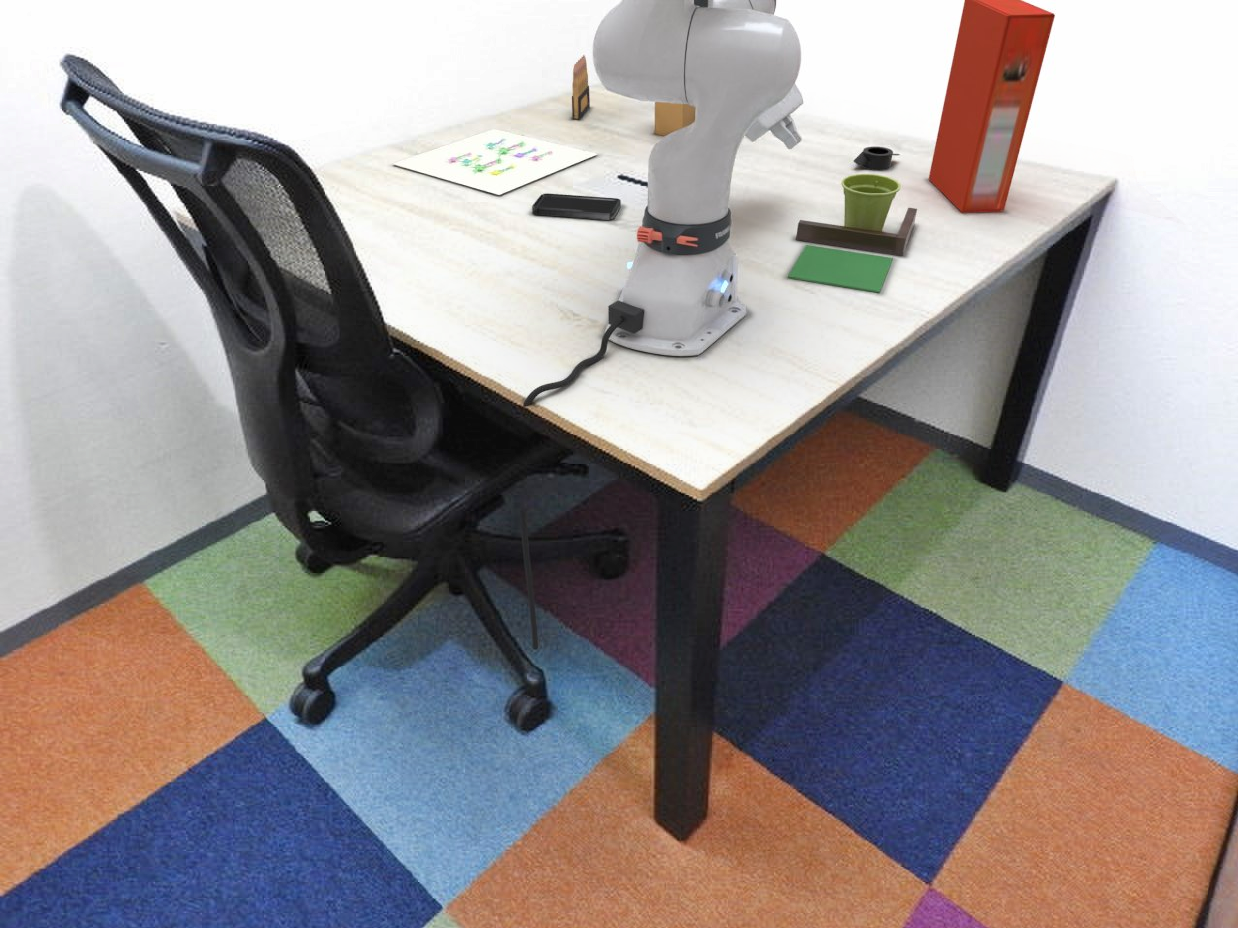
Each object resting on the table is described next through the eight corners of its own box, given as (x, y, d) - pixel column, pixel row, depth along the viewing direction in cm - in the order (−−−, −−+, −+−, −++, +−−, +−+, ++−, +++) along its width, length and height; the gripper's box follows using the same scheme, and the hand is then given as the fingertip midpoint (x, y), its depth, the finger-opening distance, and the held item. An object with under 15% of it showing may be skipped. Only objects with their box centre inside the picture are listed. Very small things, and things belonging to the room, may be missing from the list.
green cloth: (879, 293, 130) (879, 291, 129) (787, 278, 134) (787, 276, 134) (892, 259, 139) (892, 258, 139) (806, 246, 143) (806, 244, 143)
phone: (542, 193, 160) (621, 198, 158) (542, 199, 161) (621, 204, 158) (530, 208, 154) (612, 214, 152) (530, 214, 155) (612, 220, 152)
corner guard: (902, 256, 140) (906, 238, 138) (795, 240, 146) (798, 223, 144) (913, 225, 151) (917, 208, 149) (813, 211, 156) (816, 195, 154)
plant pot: (891, 247, 143) (902, 195, 138) (833, 242, 145) (841, 191, 140) (889, 225, 151) (899, 175, 145) (834, 221, 152) (841, 172, 147)
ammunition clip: (580, 120, 202) (578, 65, 195) (572, 119, 202) (570, 64, 195) (589, 107, 210) (588, 54, 203) (582, 107, 211) (580, 54, 203)
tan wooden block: (602, 138, 191) (599, -85, 166) (659, 114, 206) (663, -94, 181) (692, 156, 180) (703, -79, 155) (744, 129, 195) (762, -89, 170)
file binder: (959, 213, 155) (1007, 14, 136) (926, 180, 169) (965, -5, 150) (1003, 212, 155) (1057, 14, 136) (967, 179, 169) (1011, -5, 150)
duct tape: (848, 158, 179) (850, 144, 177) (897, 160, 178) (900, 145, 177) (852, 171, 173) (855, 156, 171) (904, 172, 172) (906, 157, 171)
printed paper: (499, 196, 162) (498, 189, 161) (391, 165, 177) (390, 158, 176) (598, 155, 181) (598, 148, 180) (494, 130, 196) (493, 123, 195)
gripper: (737, 76, 132) (790, 150, 135) (780, 51, 147) (828, 118, 149) (708, 103, 137) (760, 174, 139) (753, 76, 151) (800, 141, 154)
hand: (796, 145), depth 144 cm, fingers closed
